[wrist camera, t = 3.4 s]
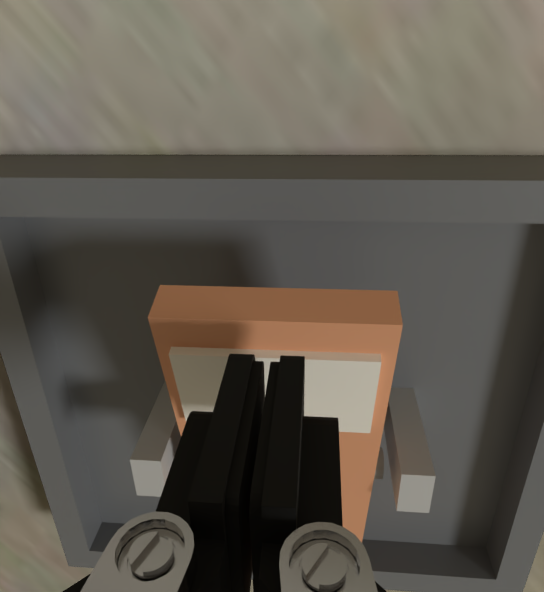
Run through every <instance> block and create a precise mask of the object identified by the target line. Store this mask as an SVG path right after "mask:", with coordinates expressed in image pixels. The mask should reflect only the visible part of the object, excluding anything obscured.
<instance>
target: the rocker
mask: <svg viewBox="0 0 544 592" xmlns="http://www.w3.org/2000/svg"><path fill="white" fill-rule="evenodd" d="M148 320H149V324H150V328H151V331H152V335H153V338H154V342H155V346H156V349H157V353H158V356H159V360H160V363H161V367H162V371H163V374H164V378H165V381H166V385H167V388H168V392H169V396H170V399H171V403H172V406H173V410H174V414H175V417H176V421H177V424H178V428H179V431H180V435H181V436H182V433H183V430H184V427H185V424H186V421H187V418H188V416H189V414H190V412H191V411H204V412H213V410H214V406H215V403H216V399H217V395H218V392H219V388H220V385H221V381H222V378H223V374H224V371H225V367H226V364H227V360H228V357H229V354H254V355H255V361H263V362H264V381H265V394H266V388H267V381H268V375H269V369H270V363H271V362H280V356H281V355H284V356H305V384H304V416H313V417H334V418H338V422H339V446H340V471H341V497H342V522H343V527H344V528H346V529H347V530H349V531H350V532H352V533H353V534H355V535H356V536H357V538H358V539H359V540H360V541H361V542H362V540H363V534H364V529H365V524H366V518H367V513H368V508H369V502H370V497H371V492H372V487H373V481H374V479H383V474H384V456H383V449H382V447H380V444H381V439H382V433H383V428H384V423H385V417H386V412H387V407H388V402H389V396H390V391H391V386H392V380H393V375H394V370H395V364H396V359H397V354H398V348H399V343H400V338H401V333H402V327H403V323H402V316H401V310H400V303H399V297H398V291H389V290H348V289H306V288H265V287H224V286H182V285H160V286H159V289H158V291H157V294H156V297H155V299H154V302H153V305H152V307H151V310H150V313H149V315H148Z"/></svg>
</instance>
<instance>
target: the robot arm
mask: <svg viewBox="0 0 544 592" xmlns="http://www.w3.org/2000/svg"><path fill="white" fill-rule="evenodd" d="M304 384H305V356H284V355H281V356H280V362H271V363H270V369H269V375H268V381H267V388H266V394H265V381H264V362H263V361H255V355H254V354H229V357H228V360H227V364H226V367H225V371H224V374H223V378H222V381H221V385H220V388H219V392H218V395H217V399H216V403H215V406H214V410H213V412H204V411H191V412H190V414H189V416H188V418H187V421H186V424H185V427H184V430H183V433H182V436H181V439H180V441H179V444H178V447H177V450H176V453H175V456H174V459H173V462H172V465H171V468H170V471H169V474H168V476H167V479H166V482H165V485H164V488H163V491H162V494H161V497H160V500H159V503H158V506H157V509H156V511H155V512H151V513H146V514H142V515H140V516H138V517H136V518H133V519H131V520H129V521H128V522H127V523H126V524H124V525H123V526H122V527H121V528H119V529H118V531H117V532H116V533H115V535H114V536H113V537H112V538H111V540H110V541H109V543H108V545H107V547H106V548H105V550H104V552H103V554H102V555H101V557H100V559H99V560H98V562H97V564H96V566H95V567H94V569H93V571H92V572H91V574H89V575H88V576H86V577H85V578H83V579H82V580H80V581H79V582H77V583H75V584H74V585H72V586H71V587H69V588H68V589H66V590H65V591H63V592H250V585H251V577H252V572H253V589H254V592H386V591H385V590H384V589H383V588H382V587H381V586H380V585H379V584H378V583H377V582H376V581H375V579H374V575H373V571H372V567H371V563H370V559H369V556H368V554H367V551H366V549H365V547H364V545H363V544H362V542H361V541H360V540H359V539H358V538H357V536H356V535H355V534H353V533H352V532H350V531H349V530H347V529H346V528H344V527H343V522H342V497H341V471H340V446H339V422H338V418H334V417H313V416H304Z"/></svg>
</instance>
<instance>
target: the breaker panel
mask: <svg viewBox="0 0 544 592" xmlns="http://www.w3.org/2000/svg"><path fill="white" fill-rule="evenodd" d="M160 285H182V286H224V287H265V288H306V289H348V290H389V291H398V297H399V303H400V310H401V316H402V323H403V327H402V333H401V338H400V343H399V348H398V354H397V359H396V364H395V370H394V375H393V380H392V386H391V391H390V396H389V402H388V407H387V412H386V417H385V423H384V428H383V433H382V439H381V444H380V447H382V449H383V456H384V474H383V479H374V481H373V487H372V492H371V497H370V502H369V508H368V513H367V518H366V524H365V529H364V534H363V540H362V544H363V545H364V547H365V549H366V551H367V554H368V556H369V559H370V563H371V567H372V571H373V575H374V579H375V581H376V582H377V583H378V584H379V585H380V586H381V587H382V588H383V589H386V590H400V591H413V592H523V589H524V587H525V584H526V581H527V578H528V575H529V572H530V569H531V566H532V563H533V560H534V558H535V555H536V552H537V549H538V546H539V543H540V540H541V537H542V534H543V532H544V156H387V155H0V353H1V356H2V359H3V362H4V365H5V368H6V371H7V374H8V378H9V381H10V384H11V387H12V390H13V393H14V396H15V399H16V403H17V406H18V409H19V412H20V415H21V418H22V421H23V425H24V428H25V431H26V434H27V437H28V440H29V443H30V446H31V450H32V453H33V456H34V459H35V462H36V465H37V468H38V471H39V475H40V478H41V481H42V484H43V487H44V490H45V493H46V497H47V500H48V503H49V506H50V509H51V512H52V515H53V518H54V522H55V525H56V528H57V531H58V534H59V537H60V540H61V543H62V547H63V550H64V553H65V556H66V559H67V562H68V565H69V566H74V567H87V568H94V567H95V566H96V564H97V562H98V560H99V559H100V557H101V555H102V554H103V552H104V550H105V548H106V547H107V545H108V543H109V541H110V540H111V538H112V537H113V536H114V535H115V533H116V532H117V531H118V529H119V528H121V527H122V526H123V525H124V524H126V523H127V522H128V521H129V520H131V519H133V518H136V517H138V516H140V515H142V514H146V513H151V512H155V511H156V509H157V506H158V503H159V500H160V497H161V494H162V491H163V488H164V485H165V482H166V479H167V476H168V474H169V471H170V468H171V465H172V462H173V459H174V456H175V453H176V450H177V447H178V444H179V441H180V439H181V435H180V431H179V428H178V424H177V421H176V417H175V414H174V410H173V406H172V403H171V399H170V396H169V392H168V388H167V385H166V381H165V378H164V374H163V371H162V367H161V363H160V360H159V356H158V353H157V349H156V346H155V342H154V338H153V335H152V331H151V328H150V324H149V320H148V315H149V313H150V310H151V307H152V305H153V302H154V299H155V297H156V294H157V291H158V289H159V286H160ZM251 580H253V572H252V577H251Z"/></svg>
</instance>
